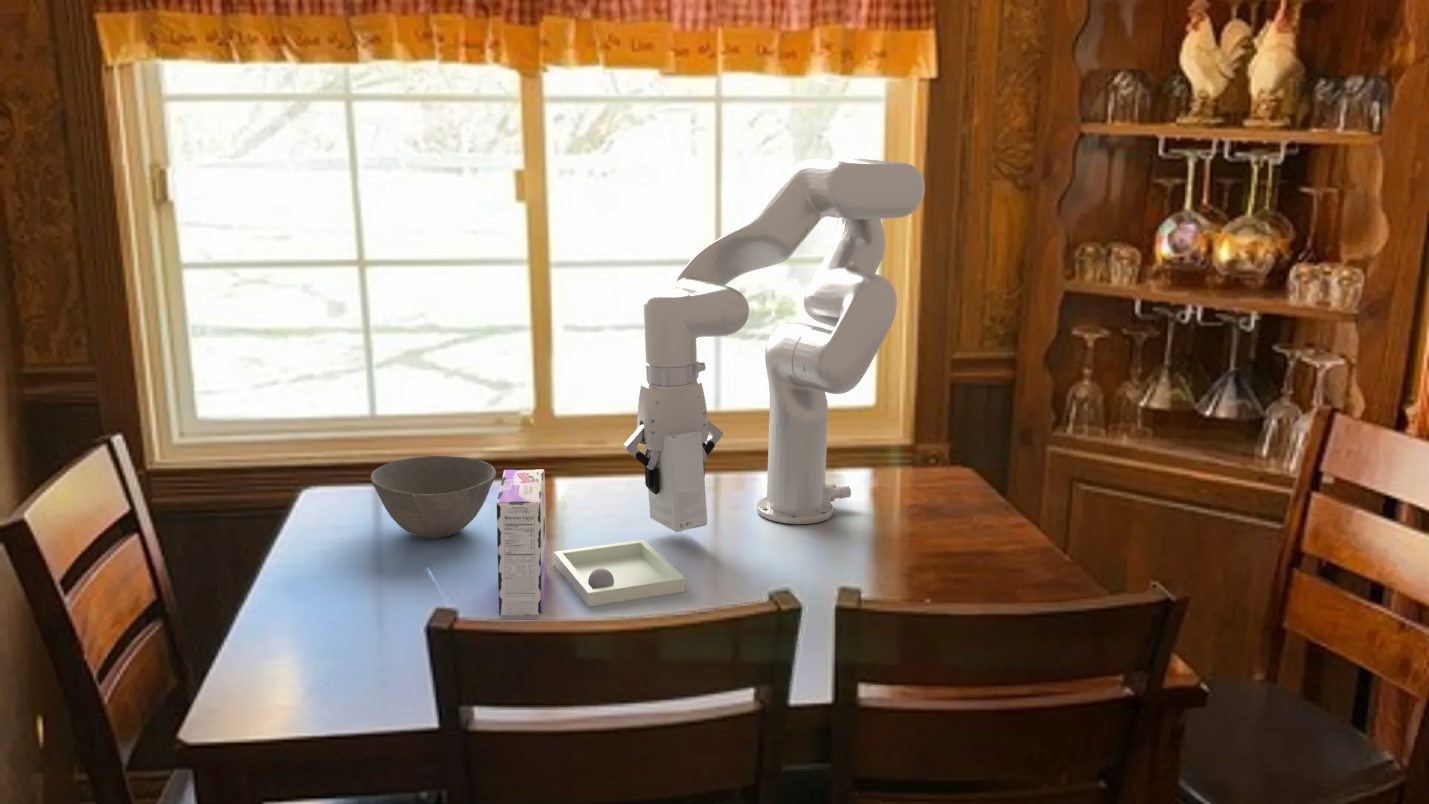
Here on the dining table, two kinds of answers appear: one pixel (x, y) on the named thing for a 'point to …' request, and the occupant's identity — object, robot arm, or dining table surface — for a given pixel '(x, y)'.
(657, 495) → the skincare box
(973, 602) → the dining table surface
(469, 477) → the bowl
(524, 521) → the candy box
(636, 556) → the tray
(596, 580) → the ball
